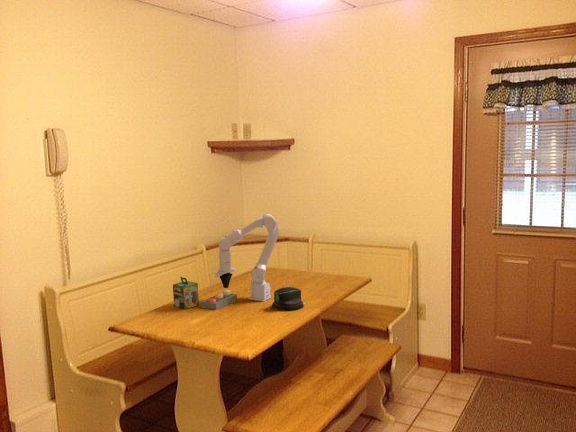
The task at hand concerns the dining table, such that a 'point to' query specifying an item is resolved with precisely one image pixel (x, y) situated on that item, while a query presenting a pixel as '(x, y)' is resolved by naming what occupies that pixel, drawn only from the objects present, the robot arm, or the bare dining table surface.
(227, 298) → the grey compartment tray
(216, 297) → the ochre button
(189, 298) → the chalk box
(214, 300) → the red button
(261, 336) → the dining table surface
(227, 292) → the sage button
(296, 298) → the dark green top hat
